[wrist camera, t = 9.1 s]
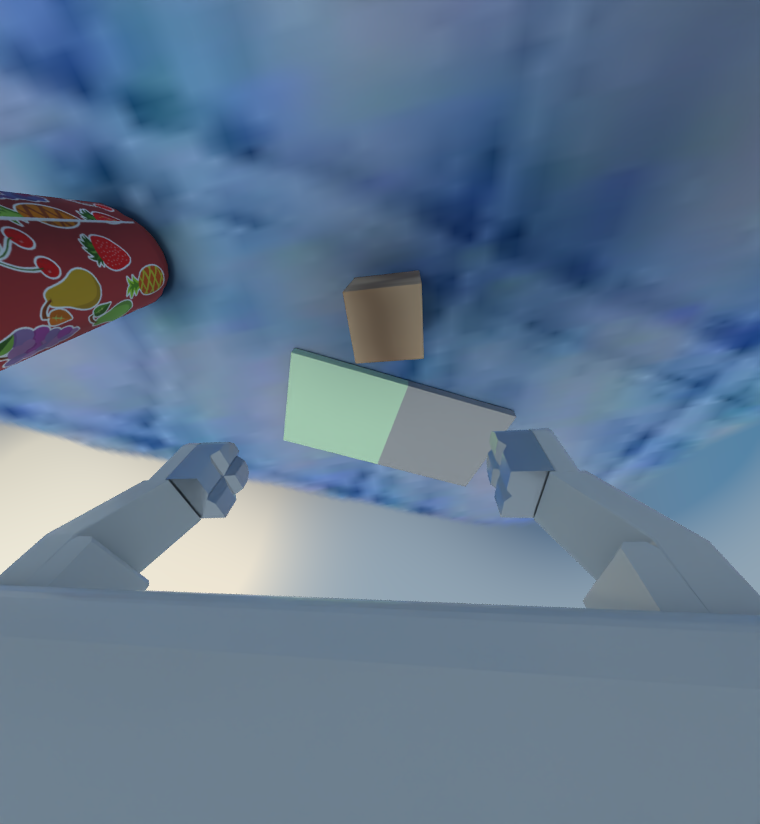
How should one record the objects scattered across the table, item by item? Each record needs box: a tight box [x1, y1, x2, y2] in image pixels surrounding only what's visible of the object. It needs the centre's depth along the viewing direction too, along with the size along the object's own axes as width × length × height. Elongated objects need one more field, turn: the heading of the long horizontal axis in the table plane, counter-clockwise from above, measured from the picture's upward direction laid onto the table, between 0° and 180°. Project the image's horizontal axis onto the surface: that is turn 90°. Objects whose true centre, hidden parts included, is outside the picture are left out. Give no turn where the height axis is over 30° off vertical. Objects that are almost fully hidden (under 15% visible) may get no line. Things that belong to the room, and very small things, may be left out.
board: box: [284, 348, 516, 487], centre depth 29 cm, size 22×11×1 cm, turn 74°
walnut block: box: [343, 270, 424, 363], centre depth 21 cm, size 5×5×5 cm
